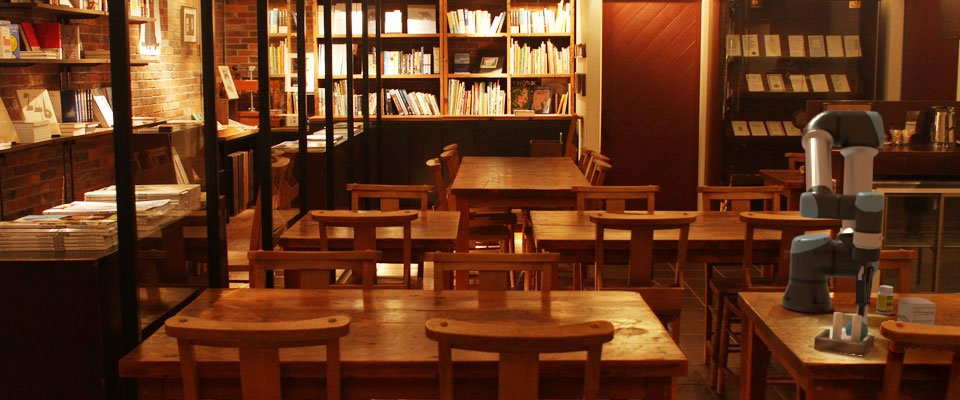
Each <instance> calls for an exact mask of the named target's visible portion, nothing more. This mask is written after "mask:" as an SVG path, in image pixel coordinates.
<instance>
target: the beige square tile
mask: <svg viewBox="0 0 960 400" xmlns="http://www.w3.org/2000/svg"><path fill="white" fill-rule="evenodd" d="M846 336H847V335H846V332H845V330H842V336H841V340H842V339H843V338H845V337H846ZM870 336H875V338H874V341H875V340H876V339H878V337H879V336H878V335H873V334H869V333H868V334H867V336H866V338H865V339H863V340H861V341H860V343H863V342H864V341H865V340H867V339H868V338H869V337H870Z"/></svg>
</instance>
